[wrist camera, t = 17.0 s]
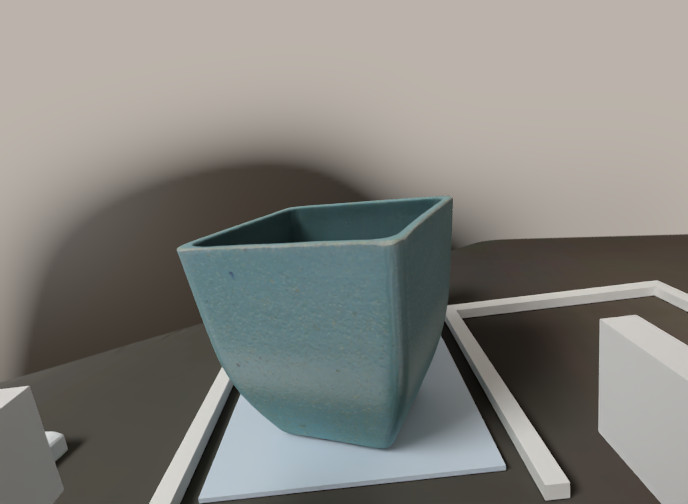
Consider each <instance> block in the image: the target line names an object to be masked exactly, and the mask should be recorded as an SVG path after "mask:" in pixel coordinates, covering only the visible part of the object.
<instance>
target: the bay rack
mask: <svg viewBox="0 0 688 504" xmlns="http://www.w3.org/2000/svg"><path fill="white" fill-rule="evenodd" d="M654 295H655V296H657V297H659V298H661V299H663V300H665V301H667V302H669V303H671V304H673V305H675V306H677V307H679V308H681V309H683V310H685V311H687V312H688V294H686V293H684V292H682V291H680V290H678V289H675V288H673V287H671V286H669V285H666V284H664V283H662V282H660V281H657V280H655V281H647V282H639V283H630V284H622V285H614V286H605V287H597V288H589V289H580V290H572V291H564V292H555V293H547V294H539V295H530V296H522V297H514V298H505V299H497V300H489V301H480V302H472V303H464V304H455V305H447V310H446V316H445V322H446V324H447V326H448V327H449V329H450V331H451V333H452V335H453V336H454V338H455V340H456V342H457V344H458V345H459V347H460V349H461V351H462V352H463V354H464V356H465V358H466V360H467V361H468V363H469V365H470V367H471V369H472V370H473V372H474V374H475V376H476V377H477V379H478V381H479V383H480V385H481V386H482V388H483V390H484V392H485V394H486V395H487V397H488V399H489V401H490V402H491V404H492V406H493V408H494V410H495V411H496V413H497V415H498V417H499V419H500V420H501V422H502V424H503V426H504V427H505V429H506V431H507V433H508V435H509V436H510V438H511V440H512V442H513V444H514V445H515V447H516V449H517V451H518V453H519V454H520V456H521V458H522V460H523V461H524V463H525V465H526V467H527V469H528V470H529V472H530V474H531V476H532V478H533V479H534V481H535V483H536V485H537V486H538V488H539V490H540V492H541V494H542V495H543V497H544V499H545V501H547V500H556V499H565V498H570V482H569V480H568V479H567V477H566V476H565V474H564V473H563V471H562V470H561V468H560V467H559V465H558V464H557V462H556V460H555V459H554V457H553V456H552V454H551V453H550V451H549V450H548V448H547V447H546V445H545V444H544V442H543V441H542V439H541V438H540V436H539V435H538V433H537V432H536V430H535V429H534V427H533V426H532V424H531V423H530V421H529V420H528V418H527V417H526V415H525V414H524V412H523V411H522V409H521V408H520V406H519V405H518V403H517V402H516V400H515V398H514V397H513V395H512V394H511V392H510V391H509V389H508V388H507V386H506V385H505V383H504V382H503V380H502V379H501V377H500V376H499V374H498V373H497V371H496V370H495V368H494V367H493V365H492V364H491V362H490V361H489V359H488V358H487V356H486V355H485V353H484V352H483V350H482V349H481V347H480V346H479V344H478V343H477V341H476V340H475V338H474V336H473V335H472V333H471V332H470V330H469V329H468V327H467V326H466V324H465V323H464V321H463V320H462V318H469V317H477V316H486V315H494V314H502V313H511V312H519V311H528V310H536V309H544V308H553V307H561V306H570V305H578V304H587V303H595V302H603V301H612V300H620V299H629V298H637V297H645V296H654ZM233 385H234V384H233V383H232V382H231V380H230V379H229V377H228V376H227V374H226V372H225V371H224V369H223V367H222V368H221V370H220V372H219V374H218V376H217V378H216V380H215V381H214V383H213V385H212V387H211V389H210V391H209V393H208V394H207V396H206V398H205V400H204V402H203V404H202V406H201V408H200V409H199V411H198V413H197V415H196V417H195V419H194V421H193V423H192V424H191V426H190V428H189V430H188V432H187V434H186V436H185V438H184V439H183V441H182V443H181V445H180V447H179V449H178V451H177V453H176V454H175V456H174V458H173V460H172V462H171V464H170V466H169V467H168V469H167V471H166V473H165V475H164V477H163V479H162V481H161V482H160V484H159V486H158V488H157V490H156V492H155V494H154V496H153V497H152V499H151V501H150V503H149V504H180V503H181V501H182V498H183V496H184V494H185V492H186V490H187V487H188V485H189V483H190V481H191V478H192V476H193V474H194V472H195V469H196V467H197V465H198V463H199V461H200V458H201V456H202V454H203V452H204V449H205V447H206V445H207V443H208V441H209V438H210V436H211V434H212V432H213V429H214V427H215V425H216V423H217V420H218V418H219V416H220V414H221V412H222V409H223V407H224V405H225V403H226V400H227V398H228V396H229V394H230V392H231V389H232V387H233ZM503 470H506V465H505V463H504V461H503V459H502V457H501V455H500V453H499V451H498V449H497V447H496V445H495V443H494V441H493V439H492V437H491V435H490V433H489V431H488V429H487V427H486V425H485V423H484V421H483V419H482V417H481V415H480V413H479V411H478V409H477V407H476V405H475V403H474V401H473V398H472V396H471V394H470V392H469V390H468V388H467V386H466V384H465V382H464V380H463V378H462V376H461V374H460V372H459V370H458V368H457V366H456V364H455V362H454V360H453V358H452V356H451V354H450V352H449V350H448V348H447V346H446V344H445V342H444V340H443V338H442V336H440V339H439V343H438V346H437V349H436V352H435V354H434V357H433V359H432V362H431V364H430V367H429V369H428V371H427V373H426V375H425V378H424V380H423V382H422V385H421V387H420V389H419V391H418V393H417V395H416V397H415V399H414V401H413V404H412V406H411V408H410V410H409V412H408V414H407V416H406V419H405V421H404V423H403V425H402V427H401V429H400V432H399V434H398V436H397V438H396V440H395V442H394V443H393V444H392V445H391V446H390V447H387V448H372V447H367V446H362V445H356V444H351V443H345V442H339V441H334V440H328V439H322V438H316V437H309V436H303V435H297V434H291V433H286V432H284V431H282V430H280V429H279V428H278V427H276V426H275V425H274V424H273V423H271V422H270V421H269V420H268V419H266V418H265V417H264V416H263V415H262V414H260V413H259V412H258V411H257V410H256V409H255V408H254V407H253V406H252V405H251V404H250V403H249V402H248V401H247V400H246V399H245V398H244V397H243V396H242V395H241V394H240V397H239V399H238V402H237V404H236V407H235V409H234V412H233V414H232V417H231V419H230V422H229V424H228V427H227V429H226V432H225V434H224V436H223V439H222V441H221V444H220V446H219V449H218V451H217V454H216V456H215V459H214V461H213V464H212V466H211V469H210V471H209V474H208V476H207V478H206V481H205V483H204V486H203V488H202V491H201V493H200V496H199V498H198V500H199V503H208V502H217V501H226V500H235V499H245V498H254V497H263V496H272V495H282V494H291V493H300V492H309V491H318V490H328V489H337V488H346V487H355V486H365V485H374V484H383V483H392V482H401V481H411V480H420V479H429V478H438V477H448V476H457V475H466V474H475V473H484V472H494V471H503Z"/></svg>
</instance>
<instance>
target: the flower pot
mask: <svg viewBox="0 0 688 504" xmlns="http://www.w3.org/2000/svg"><path fill="white" fill-rule="evenodd" d="M452 207H453V199H452V198H451V197H450V196H436V197H421V198H405V199H394V200H393V199H392V200H379V201H367V202H366V201H365V202H353V203H340V204H328V205H311V206H301V207H291V208H287V209H284V210H281V211H278V212H275V213H273V214H269V215H267V216H264V217H261V218H258V219H255V220H252V221H249V222H246V223H243V224H241V225H237V226H235V227H232V228H229V229H225V230H223V231H220V232H217V233H214V234H212V235H209V236H206V237H203V238H200V239H197V240H195V241H192V242H189V243H187V244H184V245H182V246H180V247H178V248H177V252H178V254H179V257H180V260H181V262H182V265H183V268H184V270H185V273H186V276H187V279H188V282H189V284H190V287H191V290H192V293H193V295H194V298H195V300H196V303H197V306H198V309H199V311H200V314H201V317H202V319H203V322H204V325H205V327H206V330H207V333H208V335H209V338H210V341H211V343H212V346H213V348H214V350H215V353H216V355H217V357H218V359H219V362H220V363H221V365H222V367H223V369H224V371H225V372H226V374H227V376H228V377H229V379H230V380H231V382H232V383H233V384H234V386H235V387H236V388H237V390H238V391H239V392H240V393H241V395H242V396H243V397H244V398H245V399H246V400H247V401H248V402H249V403H250V404H251V405H252V406H253V407H254V408H255V409H256V410H257V411H258V412H259V413H260V414H262V415H263V416H264V417H265V418H266V419H268V420H269V421H270V422H271V423H273V424H274V425H275V426H276V427H278V428H279V429H280V430H282V431H284V432H286V433H291V434H297V435H303V436H309V437H316V438H322V439H328V440H334V441H339V442H345V443H351V444H356V445H362V446H367V447H372V448H387V447H390V446H391V445H392V444H393V443H394V442H395V440H396V438H397V436H398V434H399V432H400V429H401V427H402V425H403V423H404V421H405V419H406V416H407V414H408V412H409V410H410V408H411V406H412V404H413V401H414V399H415V397H416V395H417V393H418V391H419V389H420V387H421V385H422V382H423V380H424V378H425V375H426V373H427V371H428V369H429V367H430V364H431V362H432V359H433V357H434V354H435V352H436V349H437V346H438V343H439V339H440V336H441V333H442V329H443V325H444V321H445V316H446V310H447V304H448V297H449V284H450V261H451V236H452Z"/></svg>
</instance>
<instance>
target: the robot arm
mask: <svg viewBox="0 0 688 504" xmlns="http://www.w3.org/2000/svg"><path fill="white" fill-rule="evenodd" d="M598 432H599V433H600V434H601V435H602V436H603V437H604V438H605V440H606V441H607V442H608V443H609V444H610V445H611V446H612V448H613V449H614V450H615V451H616V452H617V453H618V454H619V456H620V457H621V458H622V459H623V460H624V461H625V462H626V464H627V465H628V466H629V467H630V468H631V469H632V470H633V472H634V473H635V474H636V475H637V476H638V477H639V479H640V480H641V481H642V482H643V483H644V484H645V485H646V487H647V488H648V489H649V490H650V491H651V492H652V493H653V495H654V496H655V497H656V498H657V499H658V500H659V501H660V503H661V504H688V346H687V345H686V344H684V343H682V342H681V341H679V340H677V339H676V338H674V337H672V336H671V335H669V334H667V333H666V332H664V331H662V330H661V329H659V328H657V327H656V326H654V325H652V324H651V323H649V322H647V321H646V320H644V319H642V318H641V317H639V316H637V315H631V316H622V317H613V318H605V319H600V338H599V421H598ZM63 491H64V488H63V485H62V482H61V479H60V476H59V473H58V470H57V467H56V464H55V461H54V458H53V455H52V452H51V449H50V446H49V443H48V440H47V437H46V434H45V431H44V428H43V425H42V422H41V419H40V416H39V413H38V410H37V407H36V404H35V401H34V398H33V395H32V392H31V389H30V386H24V387H16V388H7V389H0V504H53V503H54V502H55V501H56V499H57V498H58V497H59V496H60V494H61V493H62V492H63Z"/></svg>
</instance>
